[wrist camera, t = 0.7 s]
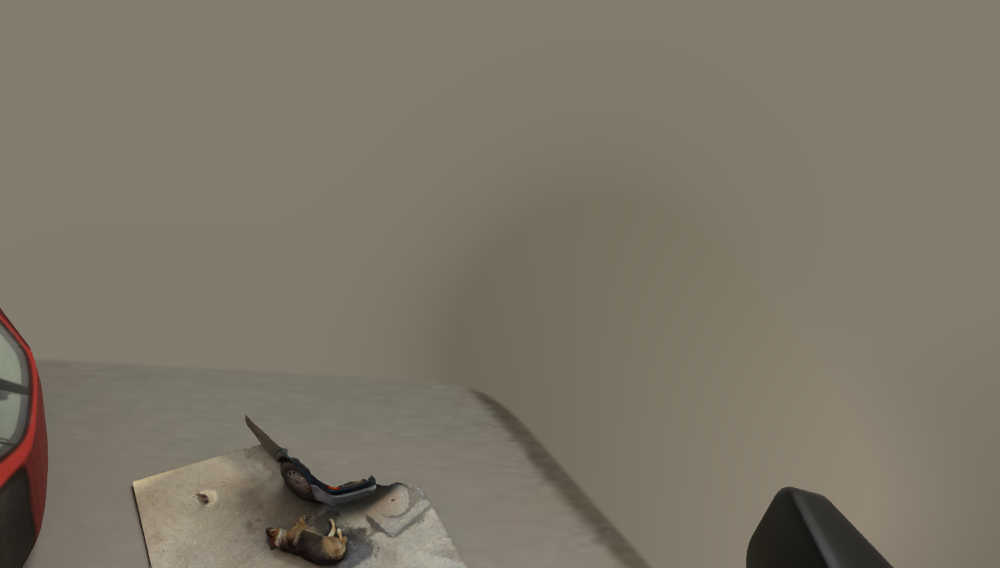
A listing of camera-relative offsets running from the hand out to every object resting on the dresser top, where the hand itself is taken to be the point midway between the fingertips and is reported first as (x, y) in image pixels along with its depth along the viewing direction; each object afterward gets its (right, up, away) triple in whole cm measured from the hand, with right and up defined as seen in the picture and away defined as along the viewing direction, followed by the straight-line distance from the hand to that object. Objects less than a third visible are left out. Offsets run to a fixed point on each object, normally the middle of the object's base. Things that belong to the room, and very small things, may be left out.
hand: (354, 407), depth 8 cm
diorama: (-5, -7, +16) cm, 19 cm away
